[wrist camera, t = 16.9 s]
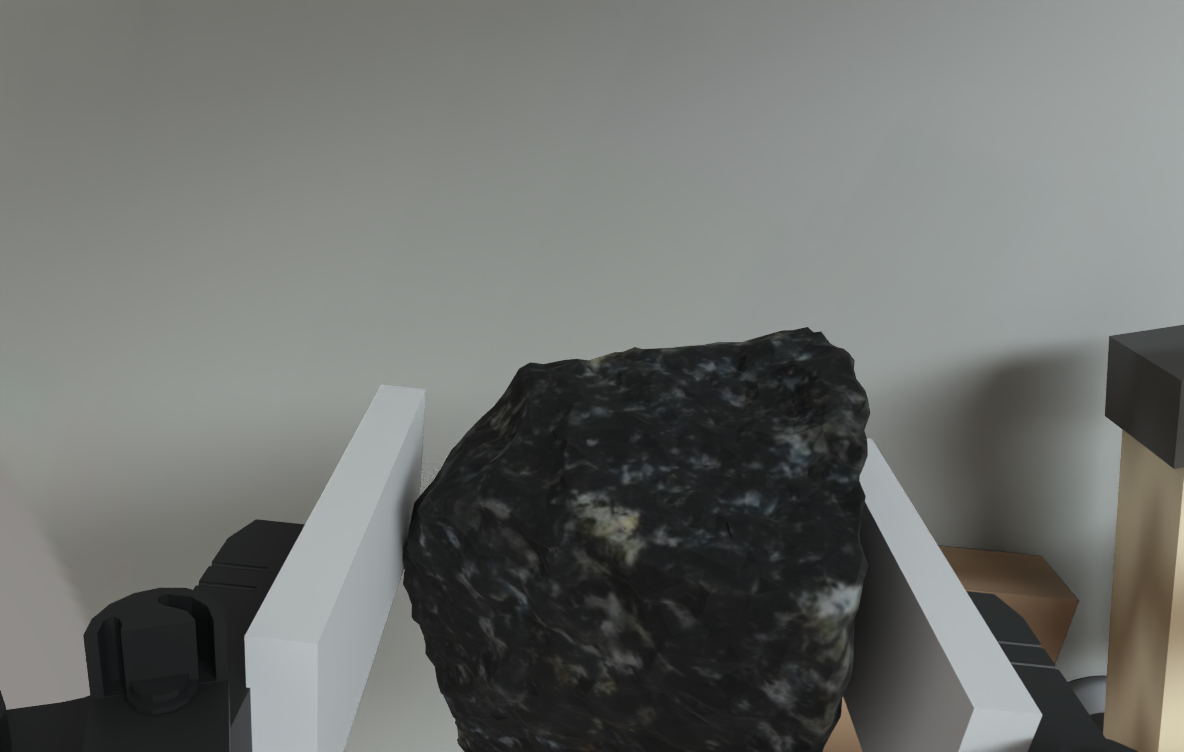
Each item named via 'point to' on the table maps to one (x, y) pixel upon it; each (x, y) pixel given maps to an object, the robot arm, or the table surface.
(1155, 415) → the leg
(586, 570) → the rock
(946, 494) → the table surface
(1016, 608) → the seat
